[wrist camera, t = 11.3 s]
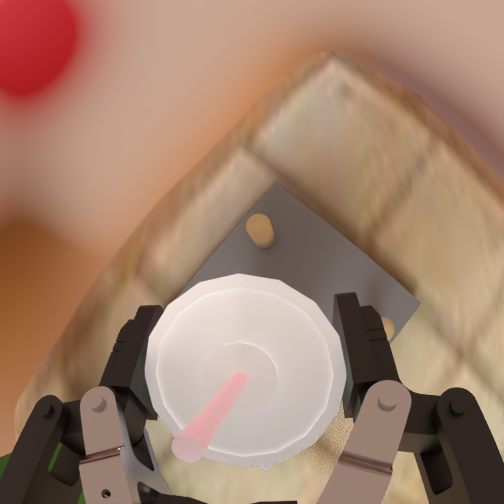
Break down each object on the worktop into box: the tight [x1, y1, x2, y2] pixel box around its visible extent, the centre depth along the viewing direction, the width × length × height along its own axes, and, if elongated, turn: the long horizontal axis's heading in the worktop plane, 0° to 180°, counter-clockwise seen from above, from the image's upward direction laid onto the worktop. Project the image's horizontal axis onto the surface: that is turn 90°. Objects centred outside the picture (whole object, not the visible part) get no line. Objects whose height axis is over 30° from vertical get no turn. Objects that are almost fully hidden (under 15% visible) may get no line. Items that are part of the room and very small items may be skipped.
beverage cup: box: [145, 273, 346, 467], centre depth 11 cm, size 6×6×14 cm
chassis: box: [173, 182, 421, 472], centre depth 19 cm, size 16×13×5 cm
